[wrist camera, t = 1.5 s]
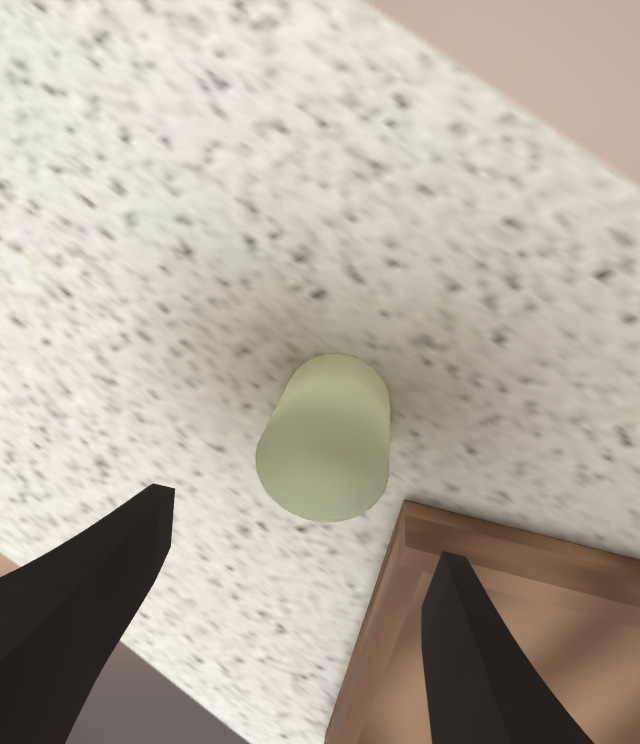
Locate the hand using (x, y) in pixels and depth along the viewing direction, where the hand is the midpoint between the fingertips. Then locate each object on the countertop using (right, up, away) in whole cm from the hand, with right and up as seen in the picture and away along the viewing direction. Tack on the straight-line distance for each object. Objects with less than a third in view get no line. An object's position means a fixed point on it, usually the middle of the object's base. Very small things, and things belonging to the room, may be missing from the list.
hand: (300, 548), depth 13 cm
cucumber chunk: (+1, +3, +8) cm, 9 cm away
